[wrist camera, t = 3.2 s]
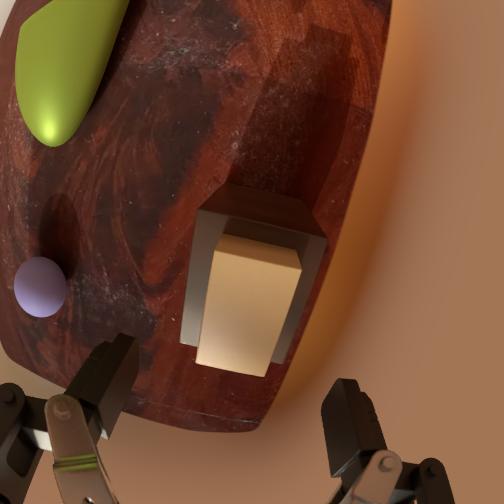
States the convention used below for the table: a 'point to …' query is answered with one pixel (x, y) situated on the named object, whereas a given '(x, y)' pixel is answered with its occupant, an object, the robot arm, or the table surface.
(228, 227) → the stand
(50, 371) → the table surface
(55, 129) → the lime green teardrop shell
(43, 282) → the sphere
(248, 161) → the table surface
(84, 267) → the table surface
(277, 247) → the birch pad
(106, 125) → the table surface
